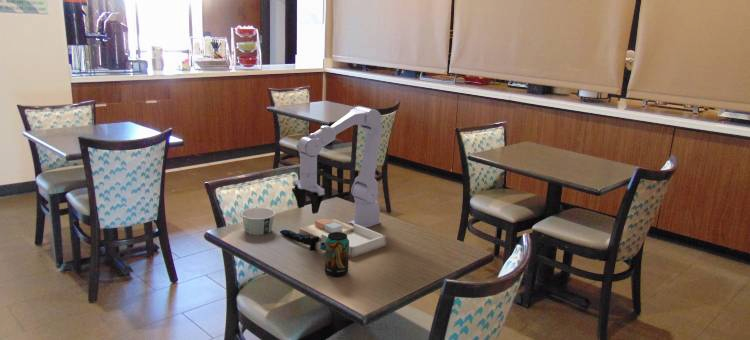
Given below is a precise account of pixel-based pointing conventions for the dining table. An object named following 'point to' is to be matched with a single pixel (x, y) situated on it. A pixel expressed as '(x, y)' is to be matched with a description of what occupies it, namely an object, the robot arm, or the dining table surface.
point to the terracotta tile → (322, 223)
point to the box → (362, 240)
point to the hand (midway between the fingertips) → (308, 210)
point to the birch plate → (316, 231)
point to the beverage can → (336, 254)
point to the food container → (258, 220)
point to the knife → (304, 239)
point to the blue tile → (333, 227)
